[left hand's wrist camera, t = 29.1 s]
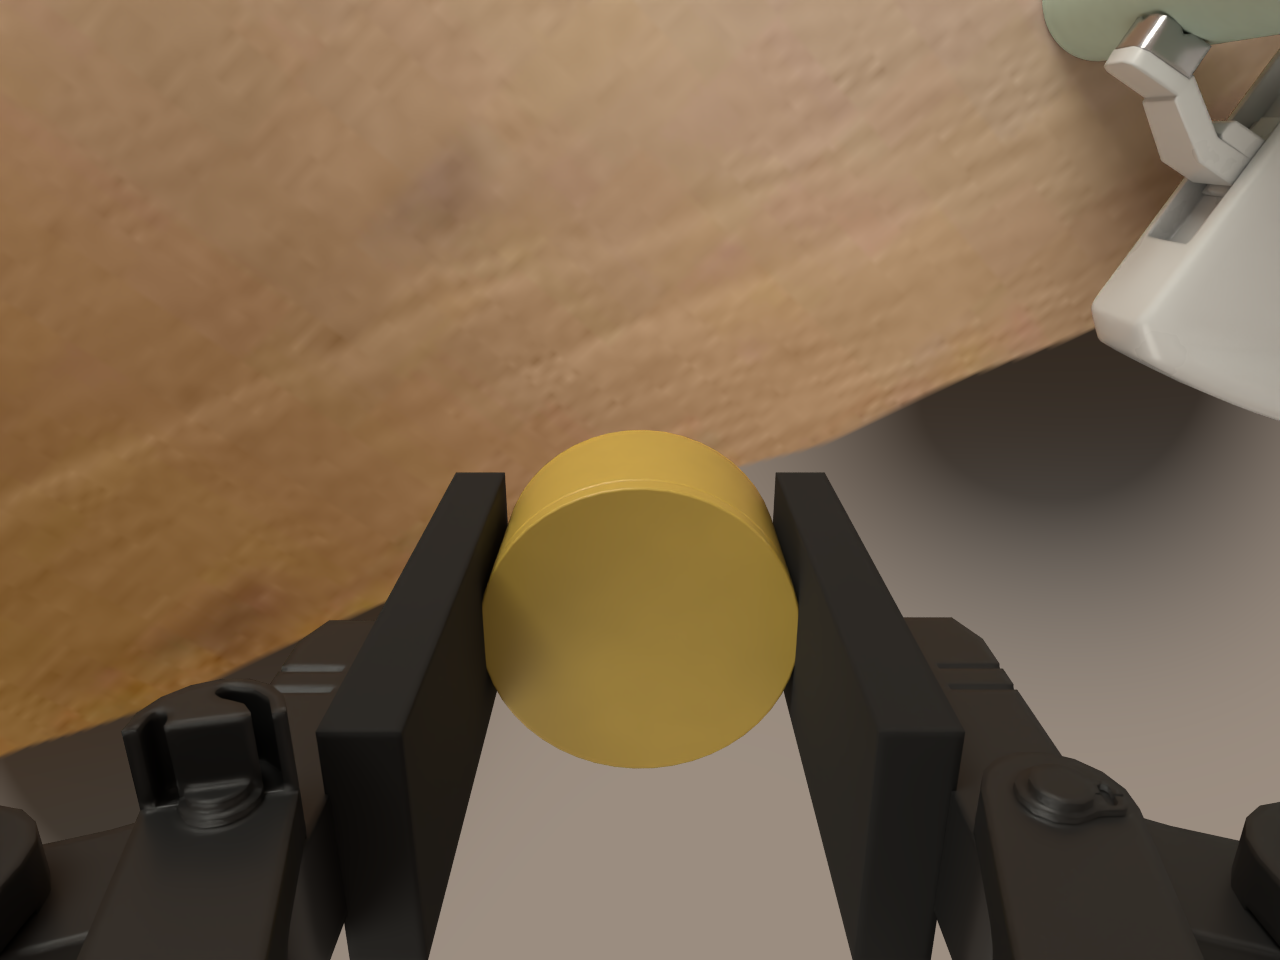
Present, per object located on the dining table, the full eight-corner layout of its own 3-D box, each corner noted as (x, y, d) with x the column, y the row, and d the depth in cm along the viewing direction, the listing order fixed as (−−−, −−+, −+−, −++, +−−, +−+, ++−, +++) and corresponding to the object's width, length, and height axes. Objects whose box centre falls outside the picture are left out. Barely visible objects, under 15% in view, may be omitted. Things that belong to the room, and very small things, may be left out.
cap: (832, 542, 14) (868, 619, 12) (657, 719, 15) (659, 819, 13) (621, 371, 13) (616, 420, 11) (451, 573, 15) (415, 655, 12)
